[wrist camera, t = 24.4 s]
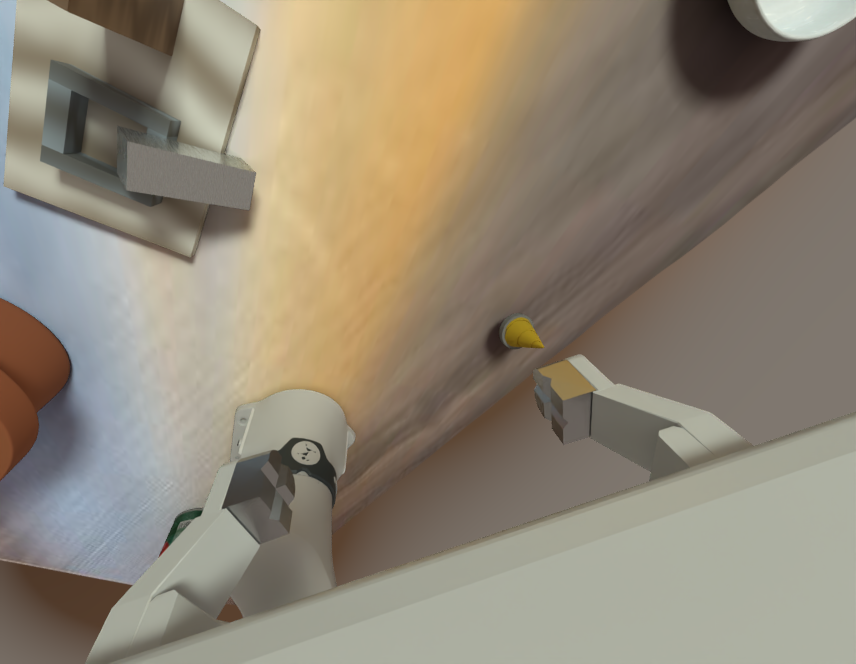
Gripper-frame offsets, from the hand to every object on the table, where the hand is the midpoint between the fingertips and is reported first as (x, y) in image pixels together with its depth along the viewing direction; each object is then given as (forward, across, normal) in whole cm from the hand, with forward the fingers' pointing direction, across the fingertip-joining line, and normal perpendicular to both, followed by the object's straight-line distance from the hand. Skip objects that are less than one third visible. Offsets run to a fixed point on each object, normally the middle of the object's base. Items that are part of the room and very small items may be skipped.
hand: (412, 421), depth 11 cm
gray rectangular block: (+30, +18, -10) cm, 36 cm away
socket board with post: (+37, +18, -14) cm, 44 cm away
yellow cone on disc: (+37, -16, +23) cm, 47 cm away
